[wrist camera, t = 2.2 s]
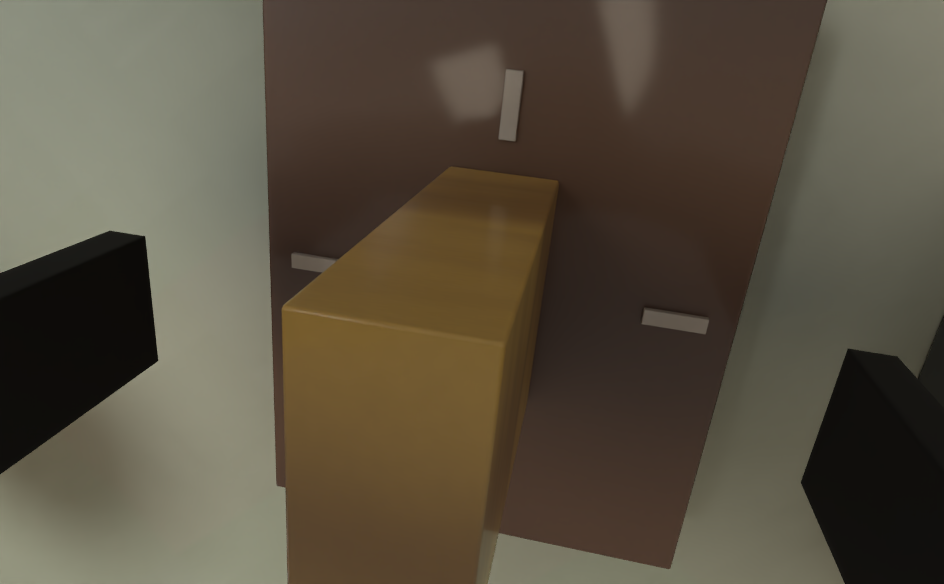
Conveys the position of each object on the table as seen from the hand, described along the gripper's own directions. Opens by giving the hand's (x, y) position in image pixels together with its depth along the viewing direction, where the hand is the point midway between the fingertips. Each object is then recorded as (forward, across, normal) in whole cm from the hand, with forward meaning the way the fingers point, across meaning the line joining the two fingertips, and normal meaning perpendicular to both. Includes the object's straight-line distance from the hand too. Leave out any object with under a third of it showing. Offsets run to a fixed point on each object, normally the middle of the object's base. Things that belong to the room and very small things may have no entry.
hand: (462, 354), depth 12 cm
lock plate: (+6, 0, 0) cm, 6 cm away
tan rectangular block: (+3, 0, 0) cm, 3 cm away
